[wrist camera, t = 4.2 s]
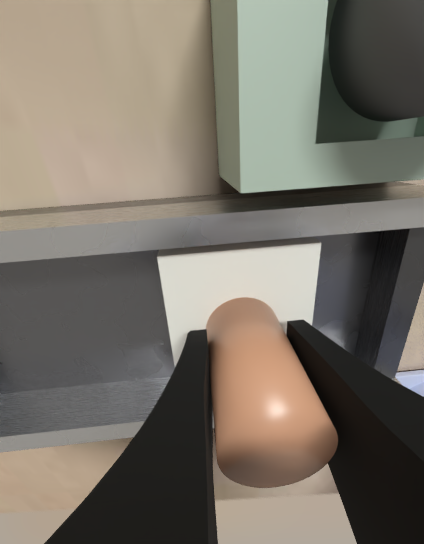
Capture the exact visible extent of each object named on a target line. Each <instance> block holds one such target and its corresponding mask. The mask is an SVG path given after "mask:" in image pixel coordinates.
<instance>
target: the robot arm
mask: <svg viewBox="0 0 424 544" xmlns="http://www.w3.org/2000/svg"><path fill="white" fill-rule="evenodd" d="M286 336H287V338H288V339H289V341H290V343H291V345H292V347H293V349H294V351H295V353H296V355H297V357H298V359H299V361H300V362H301V364H302V366H303V368H304V370H305V372H306V374H307V376H308V378H309V380H310V382H311V383H312V385H313V387H314V389H315V391H316V393H317V395H318V397H319V399H320V401H321V403H322V404H323V406H324V408H325V410H326V412H327V414H328V416H329V418H330V420H331V422H332V424H333V426H334V427H335V429H336V432H337V435H338V445H337V449H336V451H335V453H334V455H333V457H332V458H331V460H330V461H329V462H328V465H329V467H330V470H331V473H332V475H333V478H334V481H335V483H336V486H337V489H338V492H339V494H340V497H341V500H342V502H343V505H344V508H345V511H346V514H347V516H348V519H349V522H350V525H351V528H352V531H353V533H354V536H355V539H356V542H357V544H424V370H416V371H407V372H398V373H396V376H395V377H396V379H397V380H398V381H399V382H400V383H401V384H402V385H401V384H399V383H397V382H396V381H394V380H392V379H390V378H389V377H387V376H385V375H384V374H382V373H380V372H379V371H377V370H376V369H374V368H372V367H371V366H369V365H368V364H366V363H364V362H363V361H361V360H360V359H358V358H357V357H355V356H354V355H352V354H351V353H349V352H348V351H346V350H345V349H344V348H342V347H341V346H339V345H338V344H337V343H335V342H334V341H332V340H331V339H330V338H328V337H327V336H325V335H324V334H323V333H321V332H320V331H319V330H317V329H316V328H315V327H313V326H312V325H310V324H309V323H308V322H306V321H305V320H293V321H287V333H286ZM44 544H218V540H217V526H216V514H215V499H214V485H213V407H212V395H211V384H210V362H209V351H208V340H207V329H203V330H193V331H190V332H189V333H188V334H187V338H186V342H185V345H184V347H183V350H182V353H181V355H180V358H179V360H178V362H177V364H176V367H175V369H174V371H173V373H172V375H171V377H170V379H169V381H168V383H167V385H166V387H165V389H164V390H163V392H162V394H161V396H160V398H159V399H158V401H157V403H156V405H155V406H154V408H153V409H152V411H151V413H150V414H149V416H148V417H147V419H146V420H145V422H144V423H143V425H142V426H141V428H140V429H139V431H138V432H137V434H136V435H135V436H134V438H133V439H132V441H131V442H130V443H129V445H128V446H127V448H126V449H125V450H124V452H123V453H122V454H121V456H120V457H119V458H118V459H117V461H116V462H115V463H114V464H113V466H112V467H111V468H110V469H109V471H108V472H107V473H106V474H105V475H104V477H103V478H102V479H101V480H100V482H99V483H98V484H97V485H96V486H95V488H94V489H93V490H92V491H91V493H90V494H89V495H88V496H87V497H86V498H85V499H84V501H83V502H82V503H81V504H80V505H79V506H78V507H77V508H76V510H75V511H74V512H73V513H72V514H71V515H70V516H69V517H68V518H67V519H66V520H65V522H64V523H63V524H62V525H61V526H60V527H59V528H58V529H57V530H56V531H55V533H54V534H53V535H52V536H51V537H50V538H49V539H48V540H47V541H46V542H45V543H44Z"/></svg>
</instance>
